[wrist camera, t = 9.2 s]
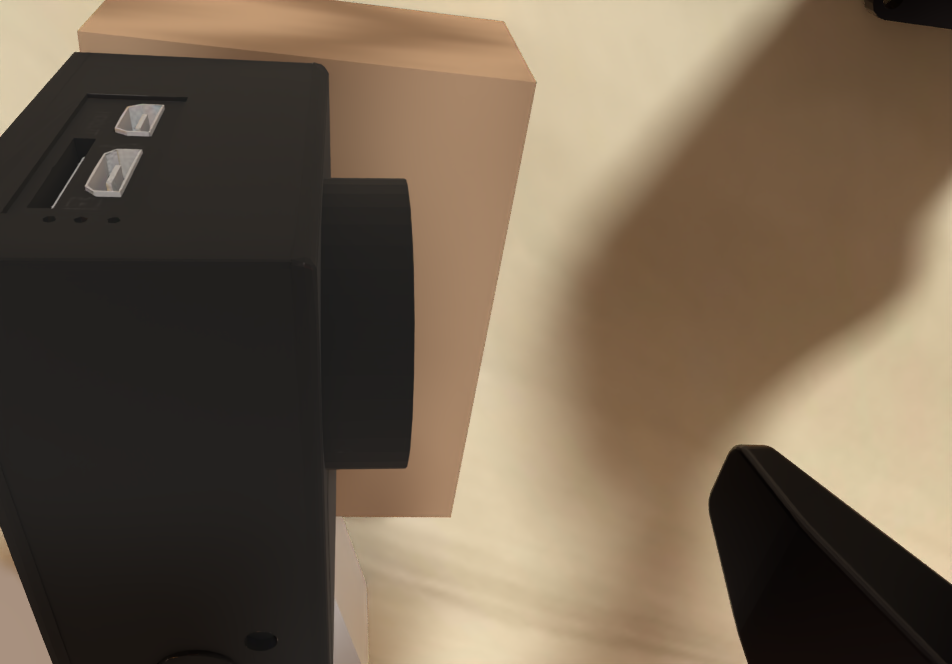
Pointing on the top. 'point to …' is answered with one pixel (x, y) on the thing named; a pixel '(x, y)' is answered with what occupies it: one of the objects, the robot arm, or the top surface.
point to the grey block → (349, 603)
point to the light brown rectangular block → (390, 175)
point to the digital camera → (192, 356)
